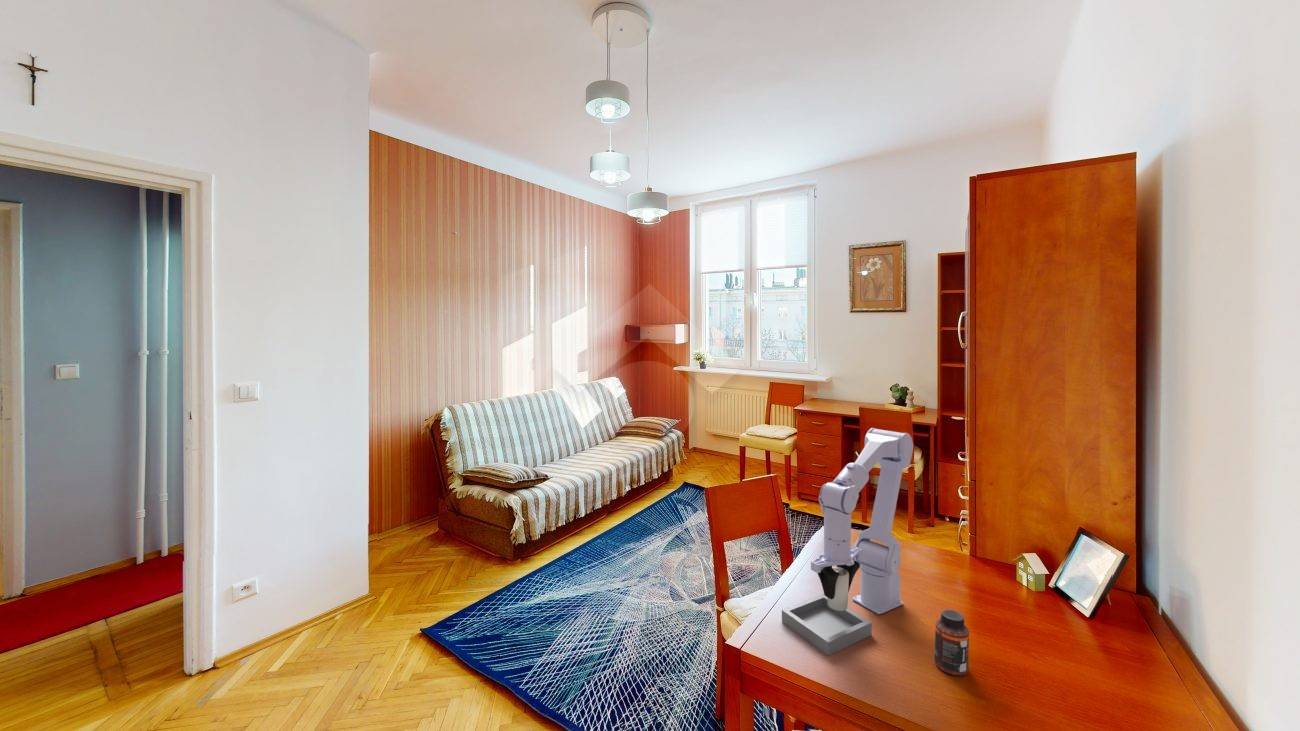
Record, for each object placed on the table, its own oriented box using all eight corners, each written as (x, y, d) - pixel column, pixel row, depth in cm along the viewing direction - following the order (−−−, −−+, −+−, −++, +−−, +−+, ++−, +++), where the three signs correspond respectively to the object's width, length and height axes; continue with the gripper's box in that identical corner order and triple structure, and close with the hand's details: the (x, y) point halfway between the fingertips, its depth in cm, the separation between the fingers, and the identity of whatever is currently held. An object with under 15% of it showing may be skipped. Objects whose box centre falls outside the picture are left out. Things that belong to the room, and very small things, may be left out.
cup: (835, 597, 116) (836, 564, 115) (851, 606, 112) (853, 573, 111) (822, 603, 113) (824, 570, 113) (839, 613, 110) (840, 579, 109)
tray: (823, 605, 125) (823, 593, 125) (871, 635, 113) (871, 622, 112) (781, 621, 118) (781, 609, 118) (828, 655, 106) (828, 642, 106)
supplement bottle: (973, 679, 98) (975, 625, 97) (940, 675, 99) (942, 621, 98) (960, 659, 104) (962, 607, 103) (930, 655, 105) (931, 605, 104)
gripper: (829, 551, 105) (828, 612, 106) (873, 535, 112) (872, 593, 113) (803, 538, 111) (803, 596, 112) (847, 524, 118) (847, 579, 119)
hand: (836, 593), depth 113 cm, fingers closed on cup, 4 cm apart
